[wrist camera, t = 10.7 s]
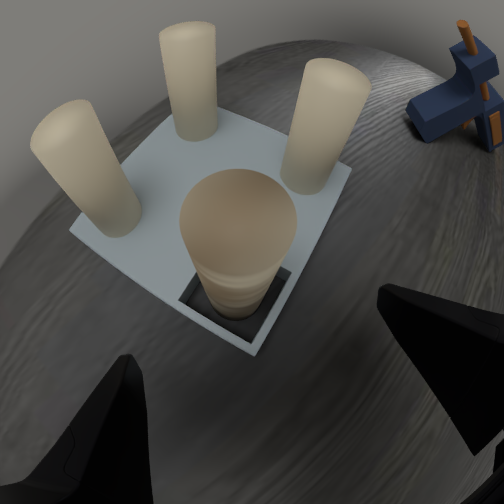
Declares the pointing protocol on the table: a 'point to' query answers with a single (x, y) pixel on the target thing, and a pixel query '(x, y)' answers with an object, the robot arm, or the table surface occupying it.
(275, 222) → the loose leg
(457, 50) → the glue gun
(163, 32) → the stool seat
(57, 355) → the table surface
